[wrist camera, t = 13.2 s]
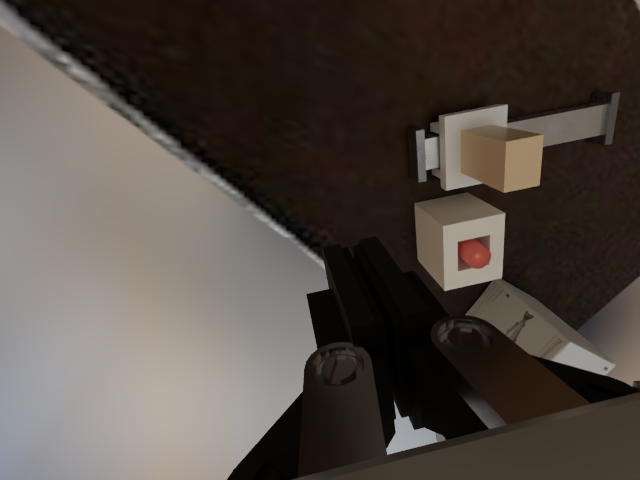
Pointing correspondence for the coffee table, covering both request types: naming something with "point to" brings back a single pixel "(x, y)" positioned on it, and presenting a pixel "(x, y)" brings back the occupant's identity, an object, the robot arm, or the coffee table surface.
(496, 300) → the supplement box
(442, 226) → the white cube box
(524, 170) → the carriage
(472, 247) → the button
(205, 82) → the coffee table surface
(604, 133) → the rail
